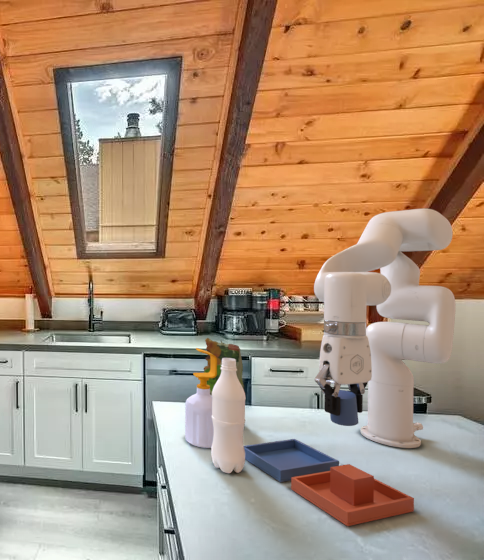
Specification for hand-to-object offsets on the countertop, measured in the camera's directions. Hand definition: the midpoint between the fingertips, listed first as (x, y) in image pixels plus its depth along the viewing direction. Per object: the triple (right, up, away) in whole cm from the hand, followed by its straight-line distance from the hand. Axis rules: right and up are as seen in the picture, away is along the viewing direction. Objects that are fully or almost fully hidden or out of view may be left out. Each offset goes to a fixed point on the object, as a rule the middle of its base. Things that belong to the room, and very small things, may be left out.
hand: (343, 411), depth 84 cm
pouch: (-14, -14, +31) cm, 37 cm away
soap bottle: (-24, -15, +18) cm, 34 cm away
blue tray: (-8, -15, +6) cm, 18 cm away
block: (-4, -14, -8) cm, 17 cm away
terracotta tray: (-4, -15, -8) cm, 17 cm away
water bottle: (-23, -15, +4) cm, 28 cm away
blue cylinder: (+1, -2, 0) cm, 2 cm away
